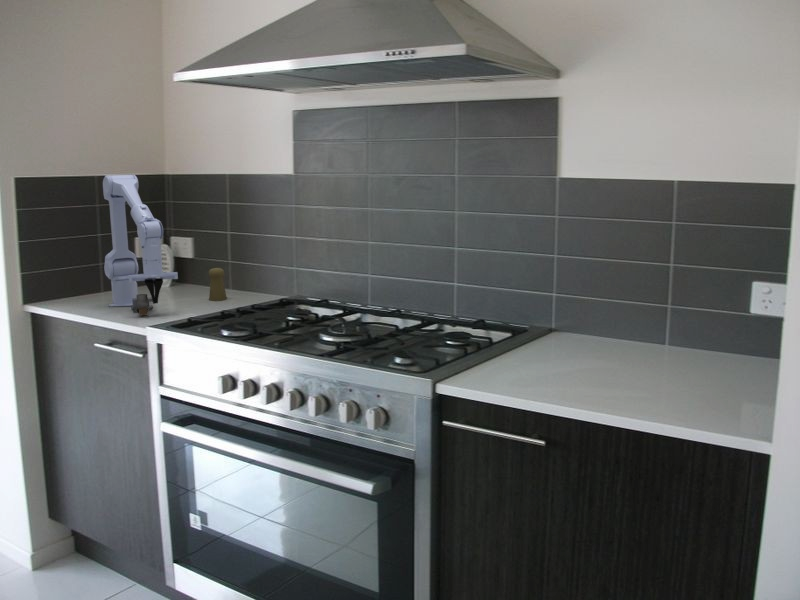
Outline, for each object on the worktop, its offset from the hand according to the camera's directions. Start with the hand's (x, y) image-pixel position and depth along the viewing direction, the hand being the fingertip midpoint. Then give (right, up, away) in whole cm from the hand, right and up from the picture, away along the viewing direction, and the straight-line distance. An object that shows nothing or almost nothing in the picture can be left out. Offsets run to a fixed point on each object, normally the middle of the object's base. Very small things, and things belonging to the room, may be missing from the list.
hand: (155, 303), depth 250 cm
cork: (+13, +1, +28) cm, 31 cm away
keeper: (-6, -3, +8) cm, 10 cm away
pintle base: (-8, -2, +12) cm, 15 cm away
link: (-6, -2, +6) cm, 9 cm away
